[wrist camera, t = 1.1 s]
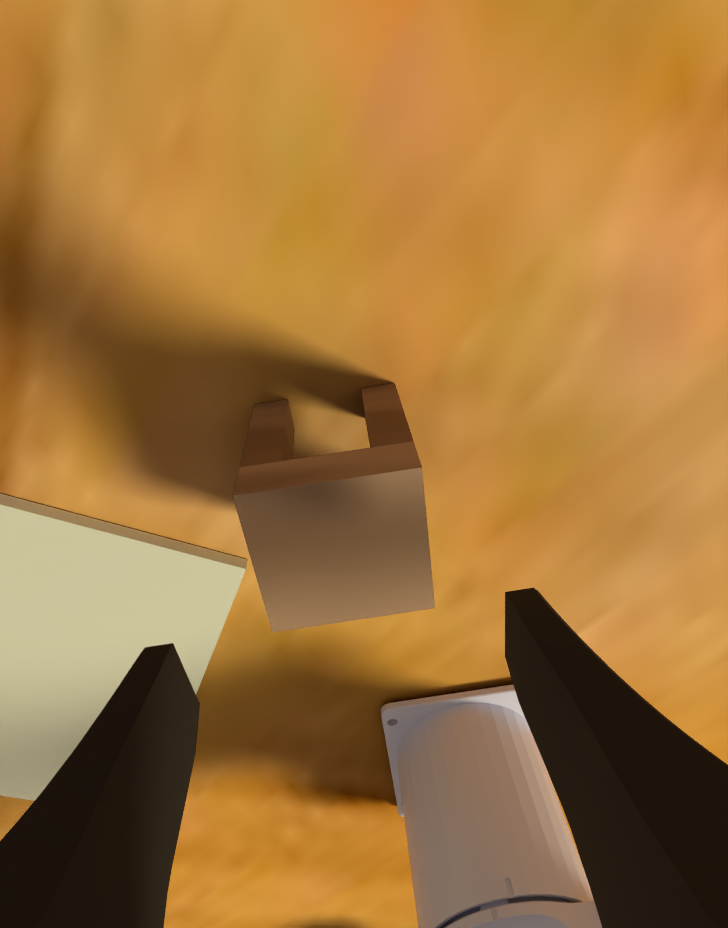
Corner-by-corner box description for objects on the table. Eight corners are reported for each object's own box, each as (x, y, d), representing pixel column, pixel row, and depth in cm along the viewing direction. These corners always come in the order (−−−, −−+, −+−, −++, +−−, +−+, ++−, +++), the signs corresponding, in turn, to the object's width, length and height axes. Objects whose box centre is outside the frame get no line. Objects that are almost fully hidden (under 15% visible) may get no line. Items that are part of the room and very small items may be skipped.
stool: (407, 500, 23) (434, 608, 17) (282, 519, 23) (272, 632, 17) (394, 383, 20) (421, 467, 15) (254, 404, 20) (232, 495, 15)
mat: (150, 805, 31) (147, 817, 31) (-96, 768, 28) (-104, 780, 28) (247, 559, 23) (245, 569, 23) (-78, 472, 21) (-88, 481, 20)
